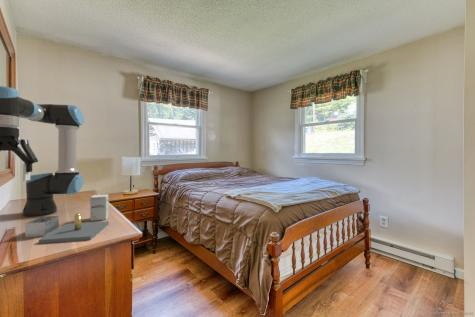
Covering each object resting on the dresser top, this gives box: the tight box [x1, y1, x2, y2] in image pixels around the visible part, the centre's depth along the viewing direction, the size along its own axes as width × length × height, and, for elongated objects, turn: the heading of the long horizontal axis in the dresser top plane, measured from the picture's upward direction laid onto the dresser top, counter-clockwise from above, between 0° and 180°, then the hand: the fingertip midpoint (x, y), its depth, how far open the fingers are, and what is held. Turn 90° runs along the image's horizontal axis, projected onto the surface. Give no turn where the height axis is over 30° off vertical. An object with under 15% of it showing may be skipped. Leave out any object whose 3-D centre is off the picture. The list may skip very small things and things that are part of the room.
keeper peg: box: [73, 213, 82, 230], centre depth 96 cm, size 2×2×7 cm
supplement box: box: [89, 193, 109, 222], centre depth 117 cm, size 7×7×13 cm
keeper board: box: [38, 220, 109, 244], centre depth 97 cm, size 20×18×2 cm
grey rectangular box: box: [24, 215, 60, 239], centre depth 96 cm, size 10×7×6 cm
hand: (6, 180), depth 86 cm, fingers open, 13 cm apart
